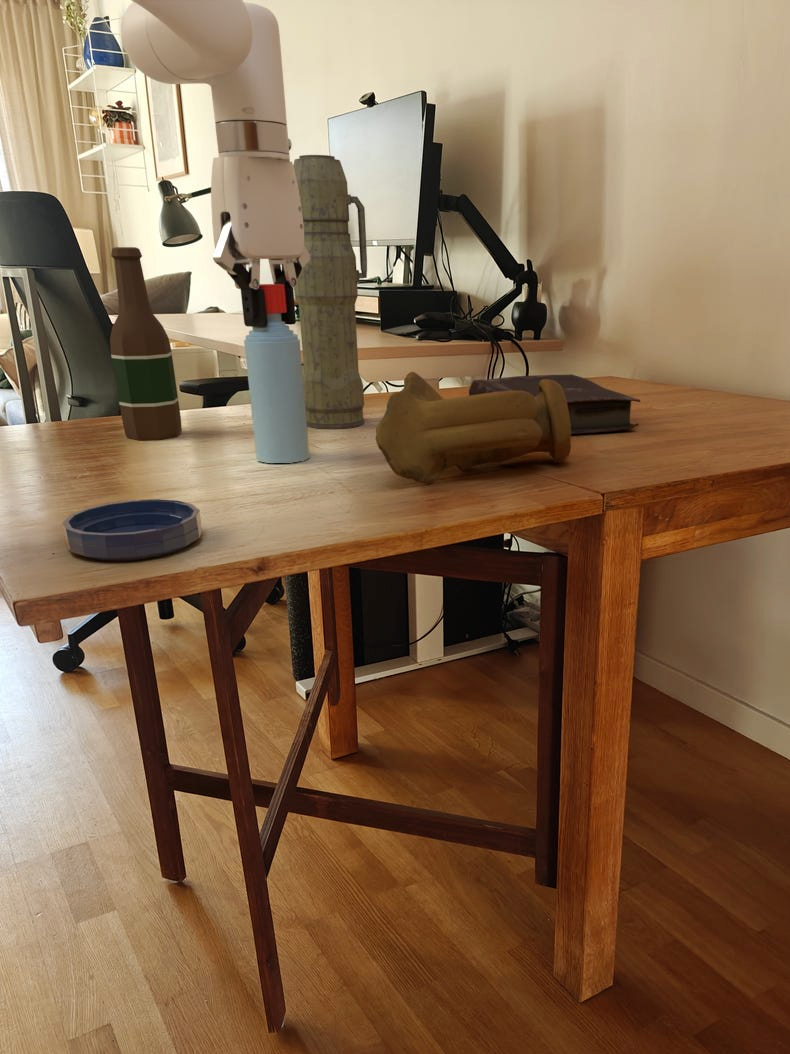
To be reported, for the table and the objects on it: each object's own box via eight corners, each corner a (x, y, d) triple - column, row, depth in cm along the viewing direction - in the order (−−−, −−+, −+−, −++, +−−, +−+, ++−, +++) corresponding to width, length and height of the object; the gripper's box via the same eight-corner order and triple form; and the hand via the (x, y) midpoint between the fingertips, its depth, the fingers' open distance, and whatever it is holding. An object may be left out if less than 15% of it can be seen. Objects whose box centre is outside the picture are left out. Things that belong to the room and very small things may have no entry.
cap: (294, 312, 101) (291, 284, 99) (269, 314, 98) (266, 285, 96) (269, 311, 103) (267, 283, 101) (244, 313, 100) (241, 284, 98)
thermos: (291, 420, 131) (268, 158, 117) (368, 416, 134) (355, 161, 120) (297, 430, 124) (273, 151, 109) (378, 426, 127) (365, 154, 112)
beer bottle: (189, 437, 119) (162, 247, 110) (130, 442, 116) (97, 247, 106) (177, 428, 126) (151, 247, 116) (120, 433, 122) (88, 247, 112)
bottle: (266, 466, 103) (249, 290, 95) (249, 456, 108) (231, 289, 100) (317, 460, 106) (303, 289, 98) (298, 451, 111) (284, 287, 103)
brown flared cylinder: (373, 393, 107) (547, 360, 107) (394, 497, 108) (565, 464, 109) (360, 362, 88) (569, 322, 89) (385, 488, 90) (591, 448, 90)
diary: (520, 439, 118) (520, 401, 116) (468, 410, 140) (468, 378, 138) (643, 431, 123) (646, 395, 121) (575, 404, 145) (576, 373, 143)
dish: (80, 572, 69) (74, 542, 68) (59, 537, 77) (54, 510, 76) (217, 549, 74) (213, 521, 73) (183, 519, 83) (180, 493, 82)
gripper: (284, 153, 101) (297, 319, 109) (167, 140, 89) (191, 328, 96) (331, 150, 98) (342, 322, 105) (216, 135, 85) (238, 331, 92)
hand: (270, 323), depth 101 cm, fingers closed on cap, 3 cm apart
